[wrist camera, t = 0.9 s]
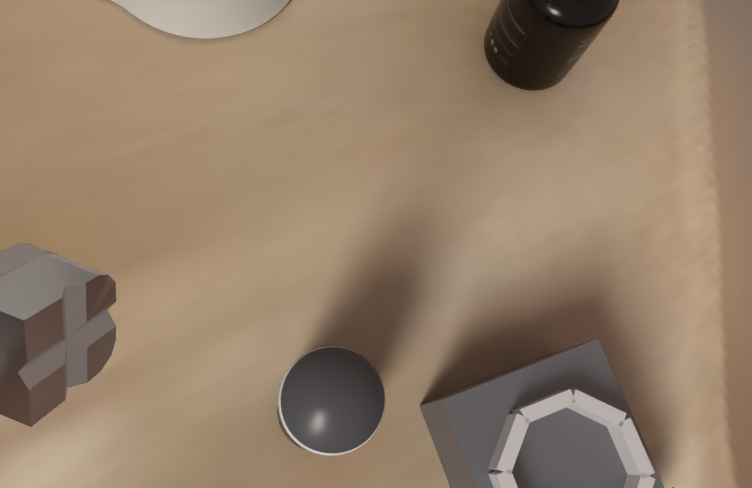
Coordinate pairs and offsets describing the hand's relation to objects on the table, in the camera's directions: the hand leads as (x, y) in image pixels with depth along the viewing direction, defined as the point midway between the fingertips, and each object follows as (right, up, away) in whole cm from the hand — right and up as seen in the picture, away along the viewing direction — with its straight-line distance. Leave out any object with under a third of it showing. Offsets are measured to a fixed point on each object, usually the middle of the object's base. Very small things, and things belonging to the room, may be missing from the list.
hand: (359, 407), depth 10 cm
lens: (-3, -8, +34) cm, 35 cm away
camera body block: (+10, -12, +35) cm, 38 cm away
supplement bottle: (+11, +16, +43) cm, 48 cm away
